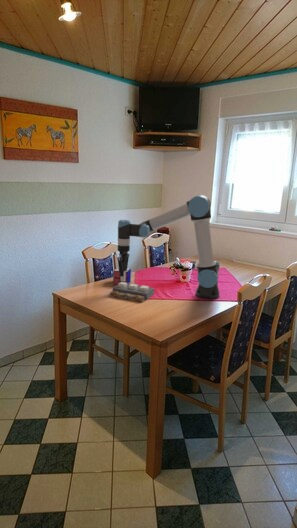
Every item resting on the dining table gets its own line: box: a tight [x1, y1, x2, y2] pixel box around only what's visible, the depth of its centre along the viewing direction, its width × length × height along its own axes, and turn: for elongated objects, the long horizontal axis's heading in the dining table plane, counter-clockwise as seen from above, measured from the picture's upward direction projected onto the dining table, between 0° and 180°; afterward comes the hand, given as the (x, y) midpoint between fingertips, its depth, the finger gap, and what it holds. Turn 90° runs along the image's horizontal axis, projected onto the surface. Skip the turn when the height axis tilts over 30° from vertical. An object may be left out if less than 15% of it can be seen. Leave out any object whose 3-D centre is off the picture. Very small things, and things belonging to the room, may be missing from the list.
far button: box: [118, 282, 127, 288], centre depth 219 cm, size 4×4×4 cm
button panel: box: [112, 283, 155, 301], centre depth 217 cm, size 24×12×4 cm, turn 68°
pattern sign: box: [109, 290, 146, 303], centre depth 209 cm, size 22×4×3 cm, turn 68°
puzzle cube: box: [112, 266, 132, 286], centre depth 237 cm, size 10×10×10 cm
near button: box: [140, 284, 150, 292], centre depth 213 cm, size 4×4×4 cm
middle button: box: [129, 283, 139, 290], centre depth 216 cm, size 4×4×4 cm
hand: (122, 280), depth 218 cm, fingers closed
